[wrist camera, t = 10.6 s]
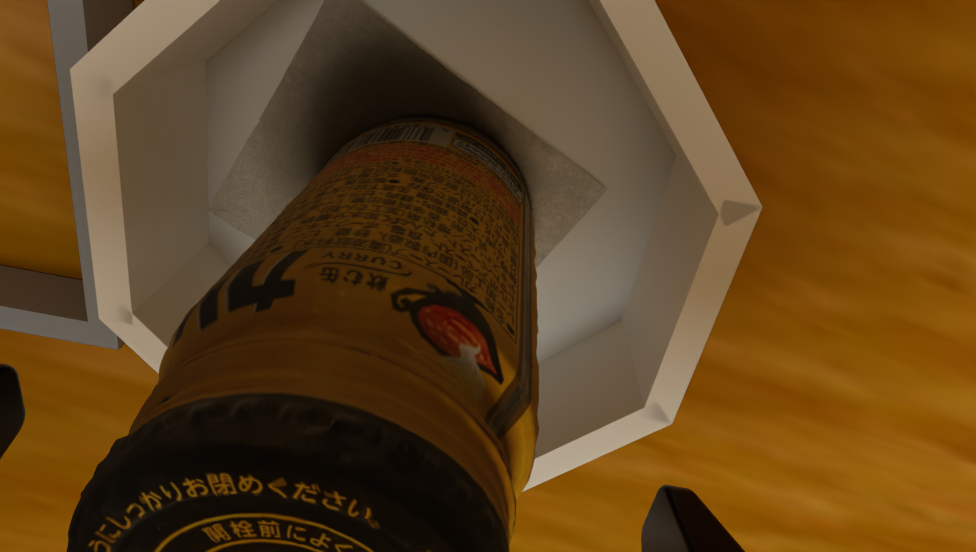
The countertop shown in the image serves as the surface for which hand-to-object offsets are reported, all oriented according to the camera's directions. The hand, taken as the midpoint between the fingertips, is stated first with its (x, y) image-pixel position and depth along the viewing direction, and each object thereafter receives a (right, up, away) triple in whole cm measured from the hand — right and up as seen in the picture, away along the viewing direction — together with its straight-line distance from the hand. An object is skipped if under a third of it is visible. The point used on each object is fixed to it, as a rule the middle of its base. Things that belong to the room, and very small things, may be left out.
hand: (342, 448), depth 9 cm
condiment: (0, +5, +9) cm, 10 cm away
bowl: (0, +5, +9) cm, 10 cm away
